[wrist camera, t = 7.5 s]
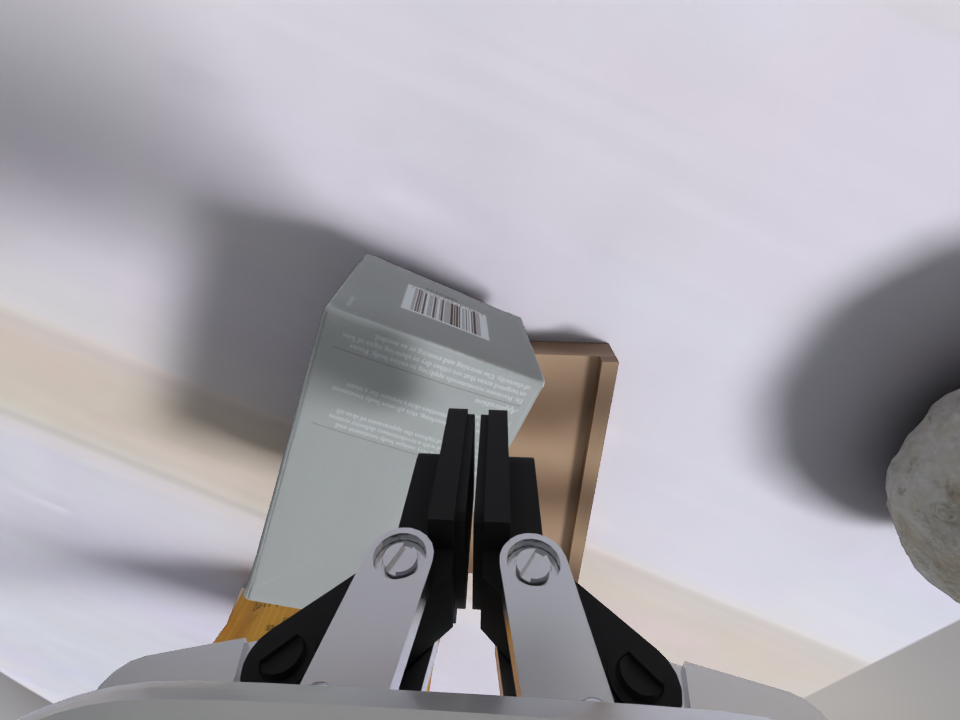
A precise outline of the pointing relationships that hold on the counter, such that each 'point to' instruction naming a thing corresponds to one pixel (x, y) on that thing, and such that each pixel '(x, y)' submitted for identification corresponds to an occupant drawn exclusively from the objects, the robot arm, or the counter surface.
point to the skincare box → (380, 419)
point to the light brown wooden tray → (567, 438)
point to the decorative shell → (930, 495)
